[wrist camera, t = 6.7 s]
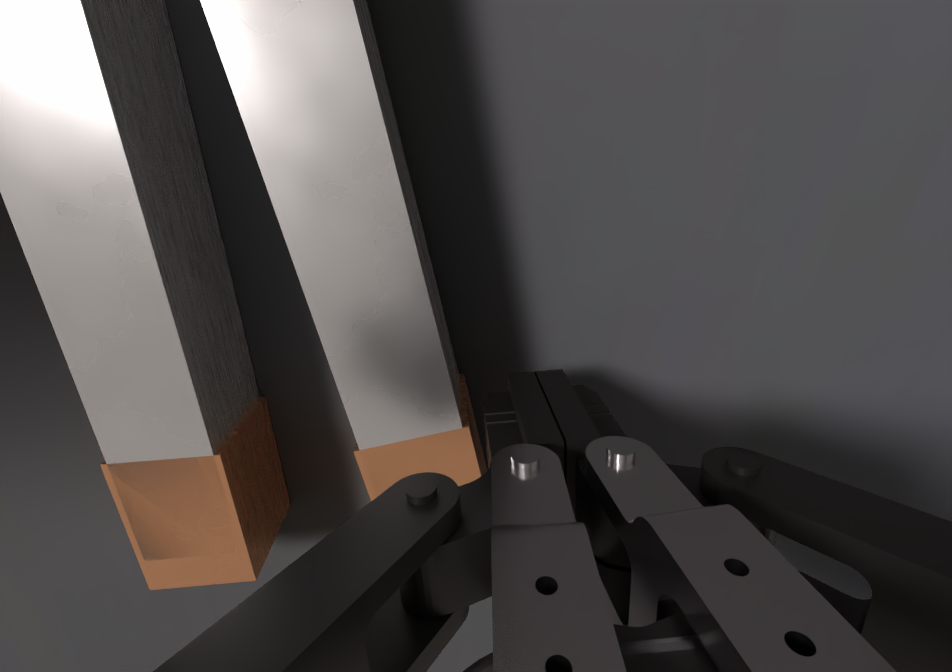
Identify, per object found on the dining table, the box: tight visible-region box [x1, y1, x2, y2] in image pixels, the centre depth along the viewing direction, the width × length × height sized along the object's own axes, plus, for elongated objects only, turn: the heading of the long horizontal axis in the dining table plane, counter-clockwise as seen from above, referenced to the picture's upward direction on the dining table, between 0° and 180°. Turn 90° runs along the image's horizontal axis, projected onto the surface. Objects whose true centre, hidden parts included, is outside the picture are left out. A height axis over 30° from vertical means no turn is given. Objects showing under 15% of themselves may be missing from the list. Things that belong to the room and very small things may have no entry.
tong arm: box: [200, 0, 487, 501], centre depth 11 cm, size 19×3×3 cm, turn 12°
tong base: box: [0, 0, 291, 590], centre depth 9 cm, size 22×6×4 cm, turn 3°
